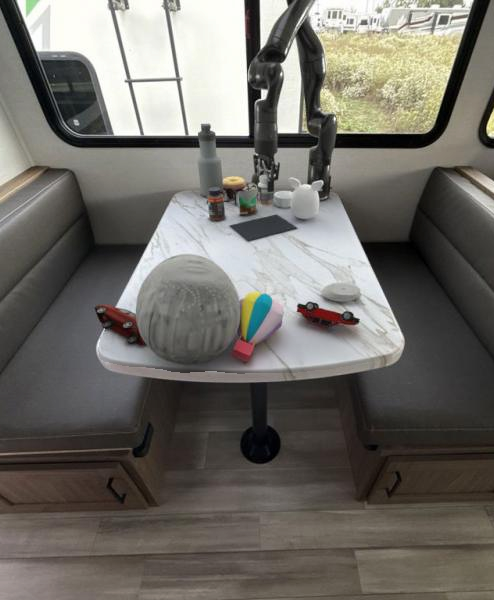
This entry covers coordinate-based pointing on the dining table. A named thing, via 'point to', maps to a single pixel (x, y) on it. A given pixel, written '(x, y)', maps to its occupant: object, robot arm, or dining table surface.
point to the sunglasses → (229, 195)
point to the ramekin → (283, 199)
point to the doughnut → (233, 183)
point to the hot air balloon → (256, 322)
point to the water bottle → (209, 161)
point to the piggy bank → (305, 198)
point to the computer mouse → (341, 292)
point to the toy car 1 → (120, 322)
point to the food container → (248, 199)
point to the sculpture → (187, 309)
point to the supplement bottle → (216, 204)
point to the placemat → (262, 227)
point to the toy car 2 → (325, 315)
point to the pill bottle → (264, 193)
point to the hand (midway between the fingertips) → (266, 189)
